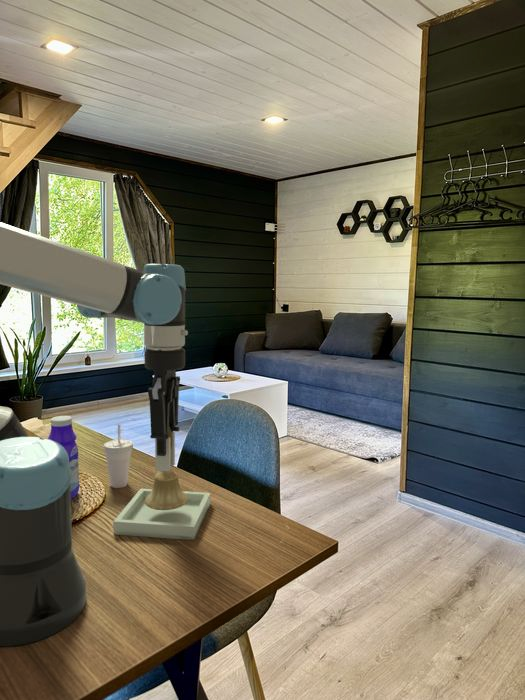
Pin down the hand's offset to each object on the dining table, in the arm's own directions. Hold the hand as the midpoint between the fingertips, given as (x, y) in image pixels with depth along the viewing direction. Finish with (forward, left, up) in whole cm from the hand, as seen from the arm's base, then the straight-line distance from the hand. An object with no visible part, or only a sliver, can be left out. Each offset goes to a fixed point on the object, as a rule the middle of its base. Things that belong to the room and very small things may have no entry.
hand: (165, 467), depth 98 cm
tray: (0, 0, -11) cm, 11 cm away
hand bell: (0, 0, -7) cm, 7 cm away
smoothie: (+14, +15, -11) cm, 23 cm away
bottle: (+6, +24, -11) cm, 27 cm away
